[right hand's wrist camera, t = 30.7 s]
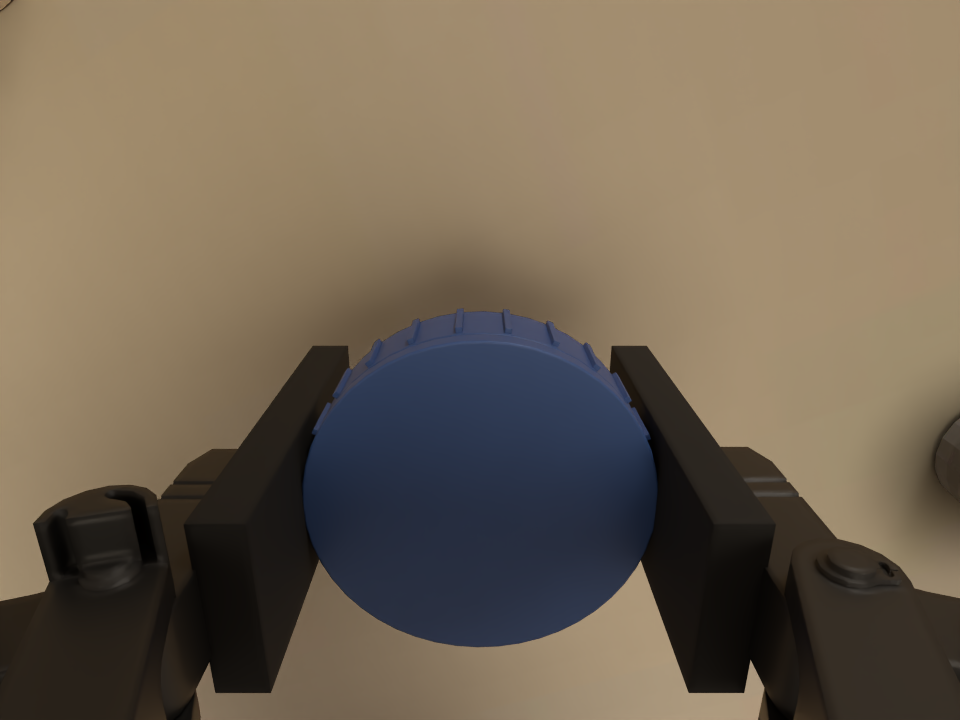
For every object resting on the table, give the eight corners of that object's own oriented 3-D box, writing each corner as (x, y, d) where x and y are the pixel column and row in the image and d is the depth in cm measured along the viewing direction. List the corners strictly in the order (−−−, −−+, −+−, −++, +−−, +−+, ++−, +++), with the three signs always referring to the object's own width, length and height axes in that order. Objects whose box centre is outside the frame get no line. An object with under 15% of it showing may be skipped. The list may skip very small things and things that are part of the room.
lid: (689, 358, 11) (722, 395, 10) (578, 617, 13) (591, 680, 12) (358, 266, 11) (338, 289, 9) (293, 551, 13) (269, 609, 11)
